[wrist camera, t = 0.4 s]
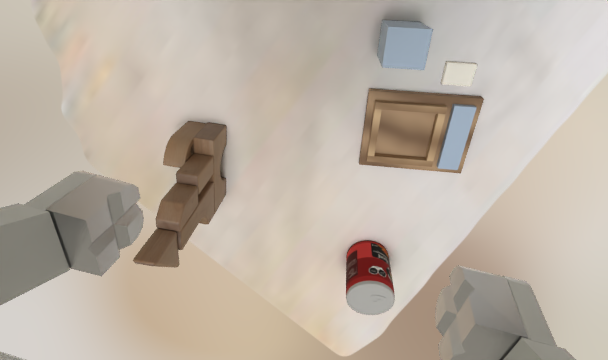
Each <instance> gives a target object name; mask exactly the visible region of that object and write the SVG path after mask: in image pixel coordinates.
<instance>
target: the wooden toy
mask: <svg viewBox="0 0 608 360" xmlns="http://www.w3.org/2000/svg"><path fill="white" fill-rule="evenodd" d="M225 146H226V125H220V124H214V123H207V124H205V123H199V122H193V121H188V122H187V123H186V124H185V125H183V126H182V127H181V128H180V129H179V130H178V131H177V132H175V133H174V134H173V135H172V136H171V138H170V139H169V141H168V144H167V146H166V150H165V154H164V161H163V165H167V166H173V167H179V168H180V169H179V170H178V171H177V173H176V179H177V183H176V184H175V185H174V186H173V187H172V188H171V189H170V191H169V192H168V193H167V194H166V195H165V197H164V198H163V199H162V200H161V203H160V206H159V210H158V213H157V217H156V226H157V229H156V230H155V232H154V233H153V234H152V235H151V237H150V238H149V239H148V241H147V242H146V243H145V245H144V246H143V247H142V248H141V250H140V251H139V252H138V254H137V255H136V257H135V258H134V260H133V261H134V262H135V263H137V264H143V265H149V266H159V267H178V266H179V256H178V250H182V249H183V248H184V246H185V244H186V243H187V241H188V240H189V238H190V236H191V235H192V233H193V231H194V230H195V228H196V227H197V225H198V223H202V224H209V223H210V221H211V219H212V217H213V216H214V214H215V212H216V211H217V209H218V207H219V205H220V204H221V202H222V200H223V198H224V197H225V195H226V178H221V176H220V166H221V159H222V154H223V151H224V148H225Z"/></svg>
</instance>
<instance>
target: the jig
mask: <svg viewBox="0 0 608 360" xmlns="http://www.w3.org/2000/svg"><path fill="white" fill-rule="evenodd" d="M483 100H484V99H483V98H482V97H481V96H467V95H453V94H439V93H425V92H411V91H397V90H383V89H369V93H368V100H367V107H366V114H365V122H364V129H363V136H362V144H361V151H360V158H359V164H361V165H372V166H384V167H395V168H406V169H418V170H429V171H441V172H452V173H461V171H462V168H463V164H464V161H465V158H466V155H467V152H468V148H469V145H470V142H471V139H472V135H473V132H474V129H475V126H476V123H477V119H478V116H479V113H480V110H481V106H482V103H483ZM453 104H463V105H475V106H476V107H477V108H476V111H475V115H474V118H473V121H472V125H471V128H470V131H469V135H468V138H467V141H466V144H465V148H464V151H463V154H462V158H461V161H460V164H459V167H458V170H450V169H439V168H437V166H436V165H437V162H438V158H439V154H440V150H441V147H442V143H443V139H444V135H445V131H446V128H447V124H448V120H449V116H450V113H451V109H452V105H453Z"/></svg>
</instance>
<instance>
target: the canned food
mask: <svg viewBox="0 0 608 360" xmlns="http://www.w3.org/2000/svg"><path fill="white" fill-rule="evenodd" d="M394 298H395V296H394V288H393V282H392V275H391V269H390V262H389V256H388V253H387V251H386V249H385V248H384V247H383V246H382V245H381V244H379V243H376V242H373V241H361V242H358V243H356V244H354V245H353V246H352V247H351V248H350V249H349V251H348V253H347V262H346V299H347V303H348V305H349V306H350V307H351V309H353V310H354V311H356V312H358V313H361V314H365V315H377V314H381V313H384V312H386V311H388V310H389V309H390V308H391V307H392V306H393V304H394V300H395V299H394Z"/></svg>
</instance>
